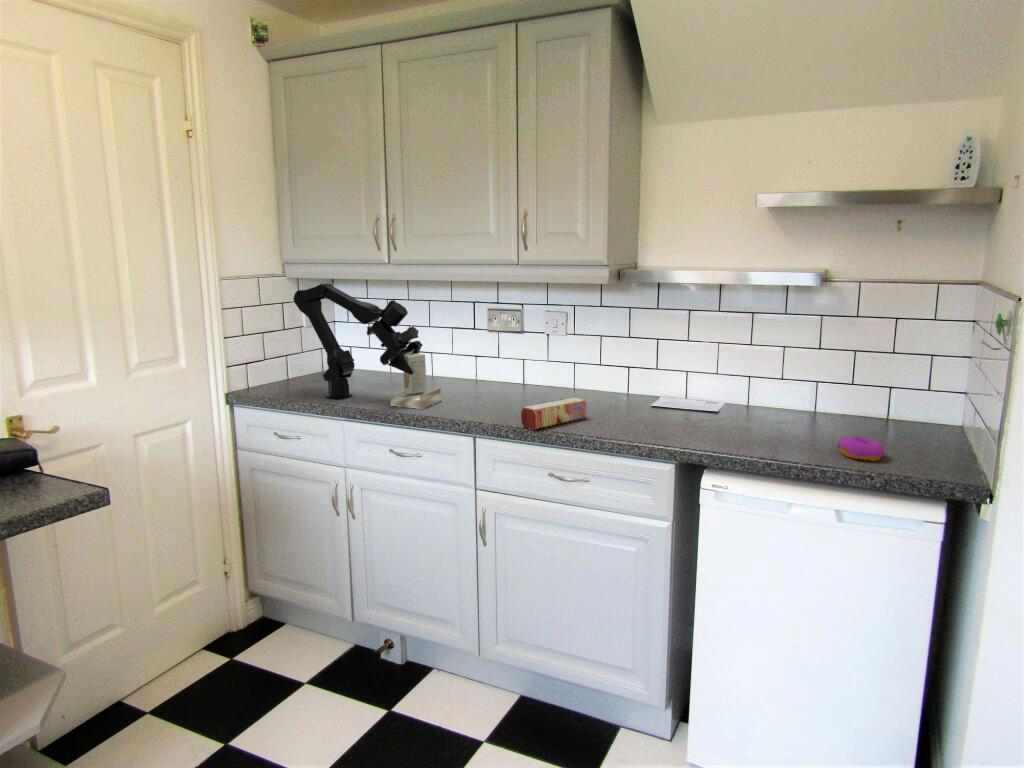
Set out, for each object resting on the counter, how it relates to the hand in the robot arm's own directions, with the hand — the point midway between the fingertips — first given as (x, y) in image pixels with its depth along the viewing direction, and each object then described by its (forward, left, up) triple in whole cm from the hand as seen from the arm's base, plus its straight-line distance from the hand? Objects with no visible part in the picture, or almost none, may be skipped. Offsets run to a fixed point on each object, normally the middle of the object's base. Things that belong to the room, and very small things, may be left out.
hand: (418, 371), depth 226 cm
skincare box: (-1, 0, -7) cm, 7 cm away
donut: (+129, +6, -11) cm, 130 cm away
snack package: (+49, -1, -11) cm, 51 cm away
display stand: (-1, 0, -11) cm, 11 cm away
